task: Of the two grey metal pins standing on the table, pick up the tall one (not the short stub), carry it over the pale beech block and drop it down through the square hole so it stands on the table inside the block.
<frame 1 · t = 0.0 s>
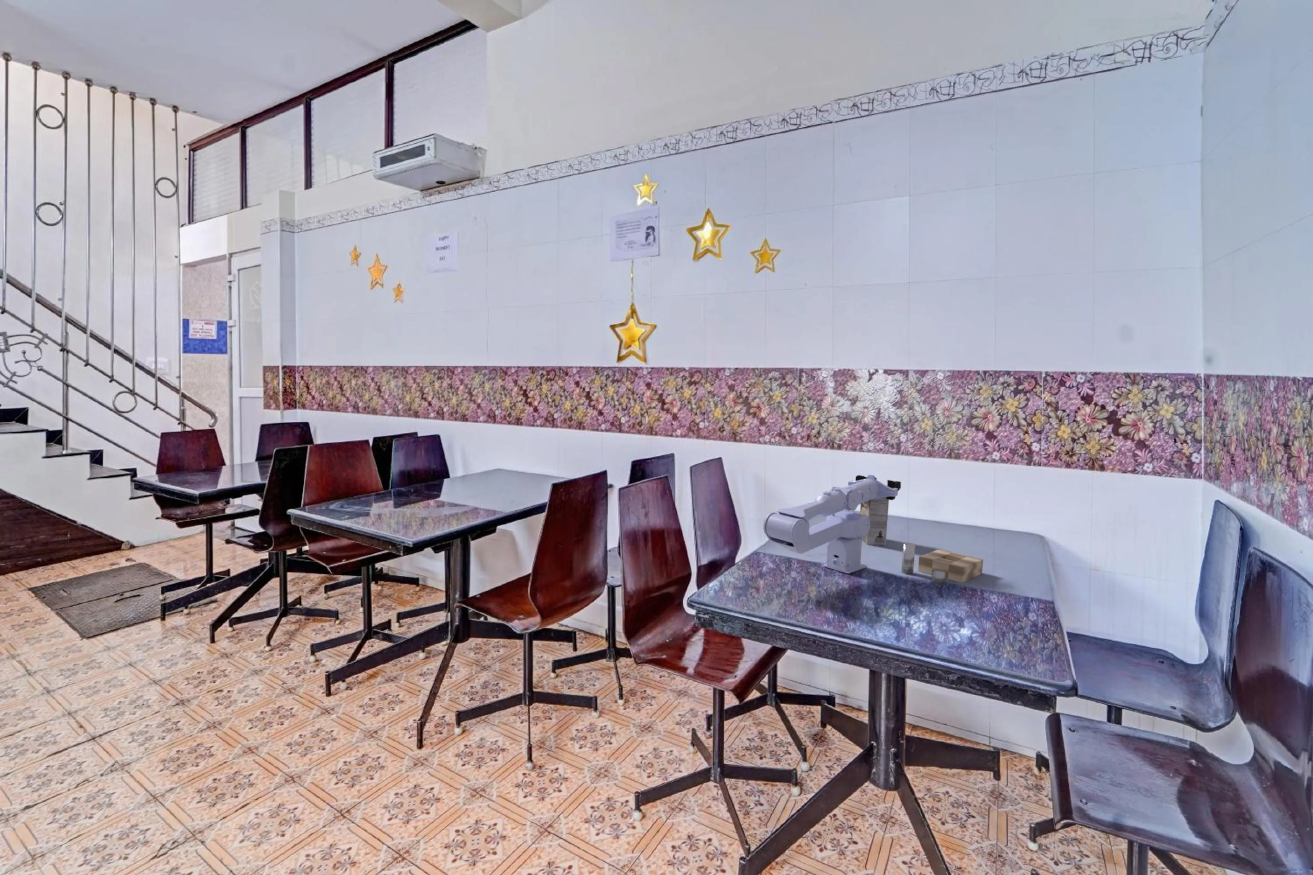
hand: (887, 482, 184), 22 cm above the table, tool horizontal, fingers open, 7 cm apart
long pin: (907, 572, 170), on the table
coffee box: (872, 541, 201), on the table
socket block: (949, 572, 171), on the table
short stub: (938, 582, 163), on the table
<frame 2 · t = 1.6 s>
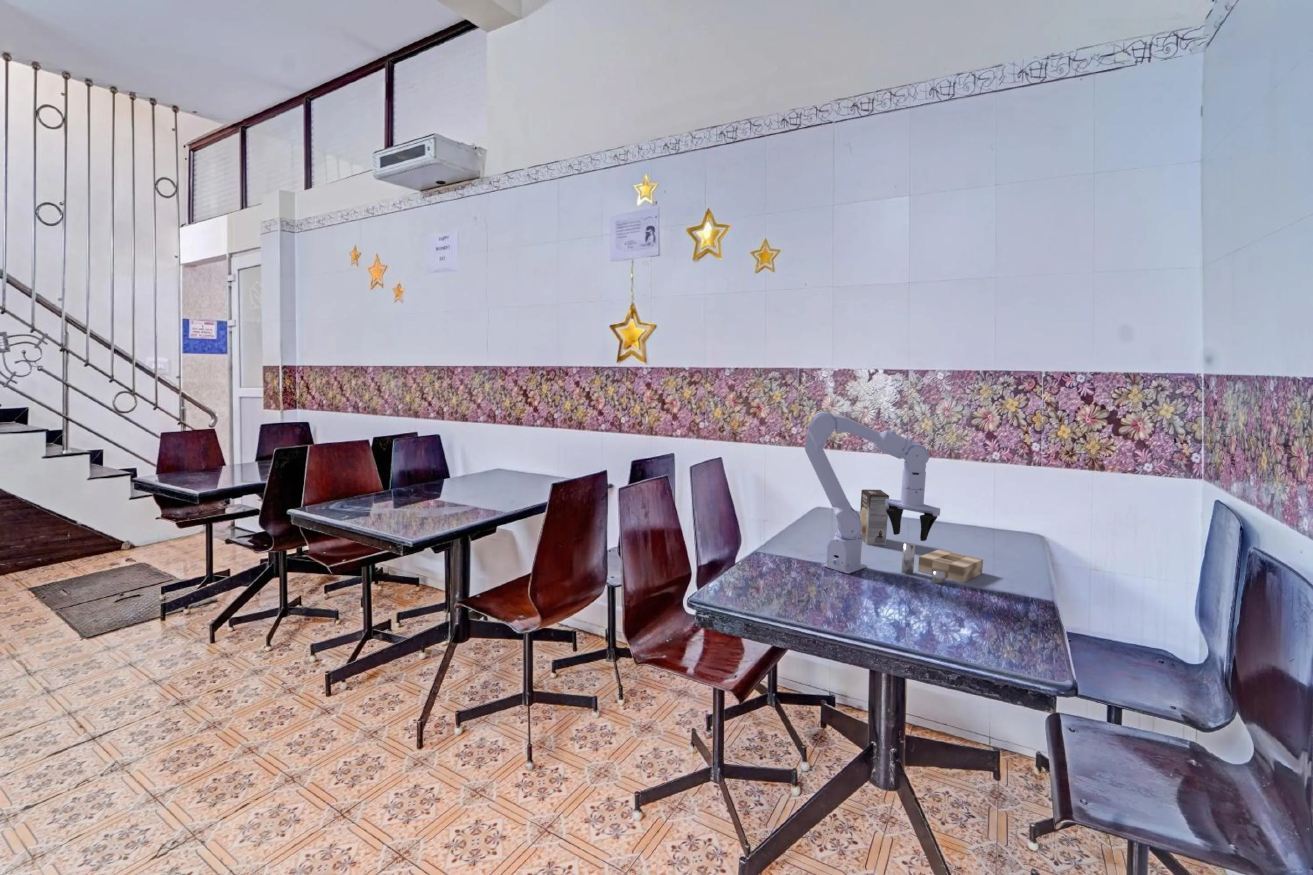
hand: (909, 537, 169), 10 cm above the table, tool pointing down, fingers open, 7 cm apart
nothing on the table moved.
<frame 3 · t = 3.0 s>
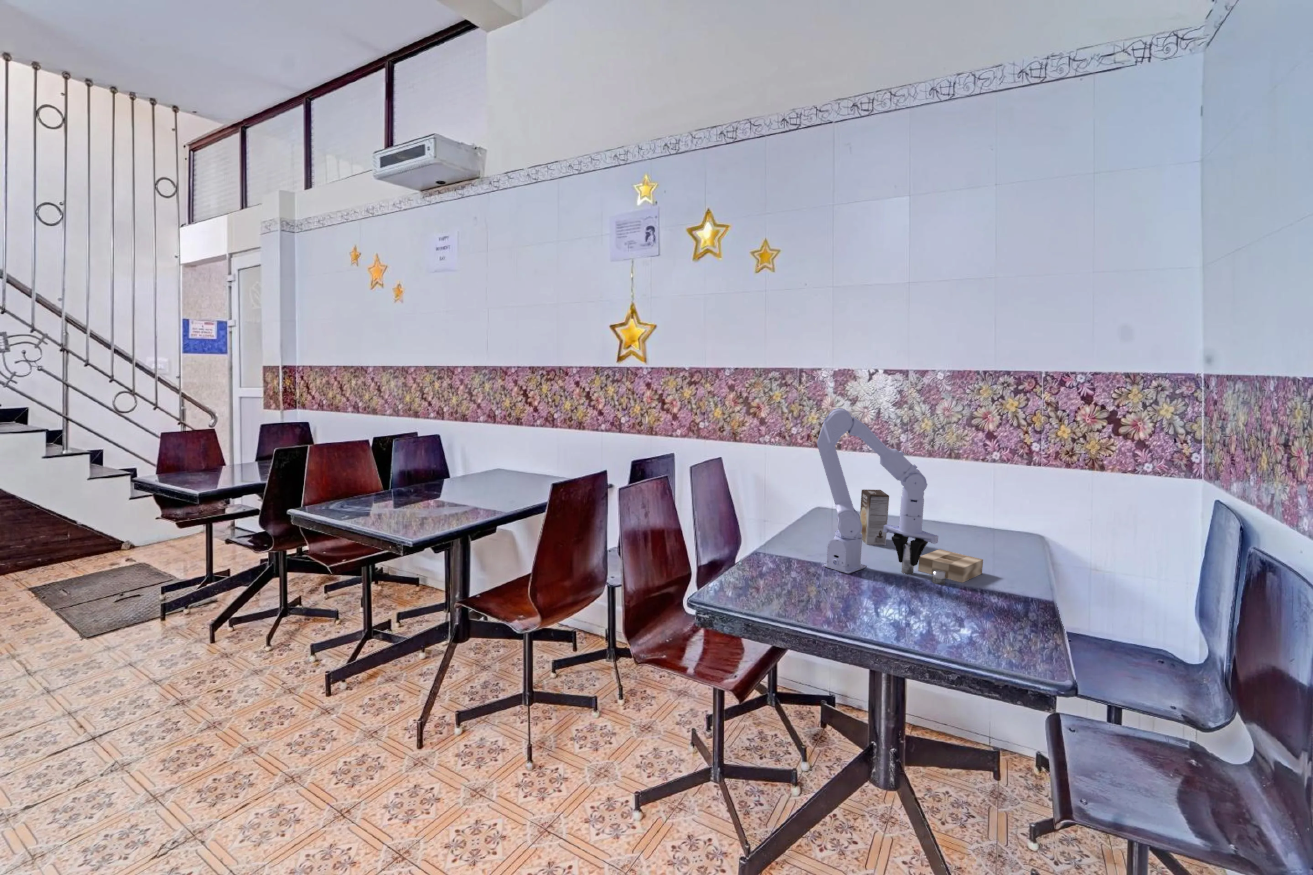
hand: (908, 563, 170), 3 cm above the table, tool pointing down, fingers closed on long pin, 3 cm apart
long pin: (907, 572, 170), on the table, touching gripper
everything else where it was.
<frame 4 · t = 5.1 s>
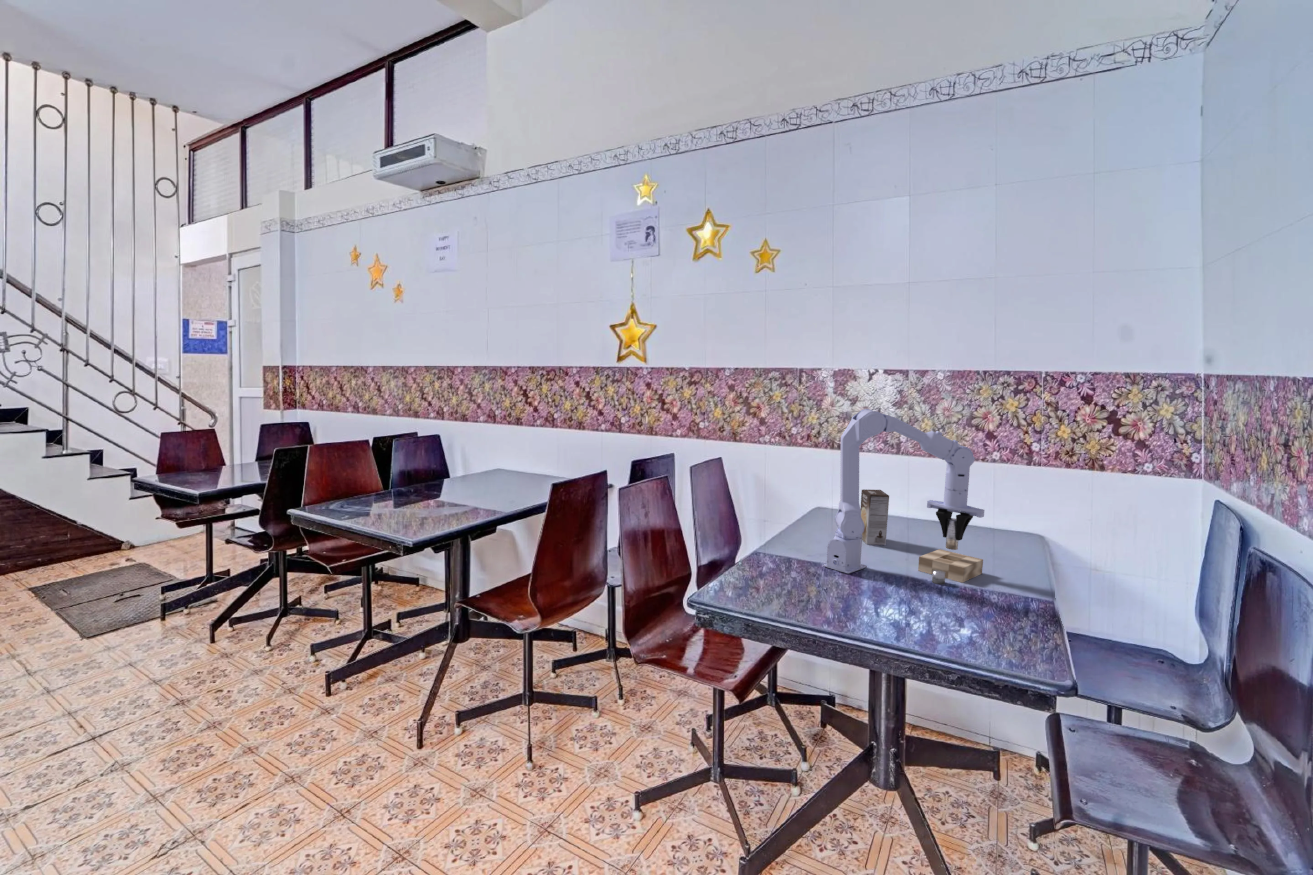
hand: (952, 538, 170), 10 cm above the table, tool pointing down, fingers closed on long pin, 3 cm apart
long pin: (951, 548, 170), point 7 cm above the table, touching gripper
everything else where it was.
when the fingers open (5 cm above the table, at t = 7.1 s): long pin drops 2 cm, resting in socket block.
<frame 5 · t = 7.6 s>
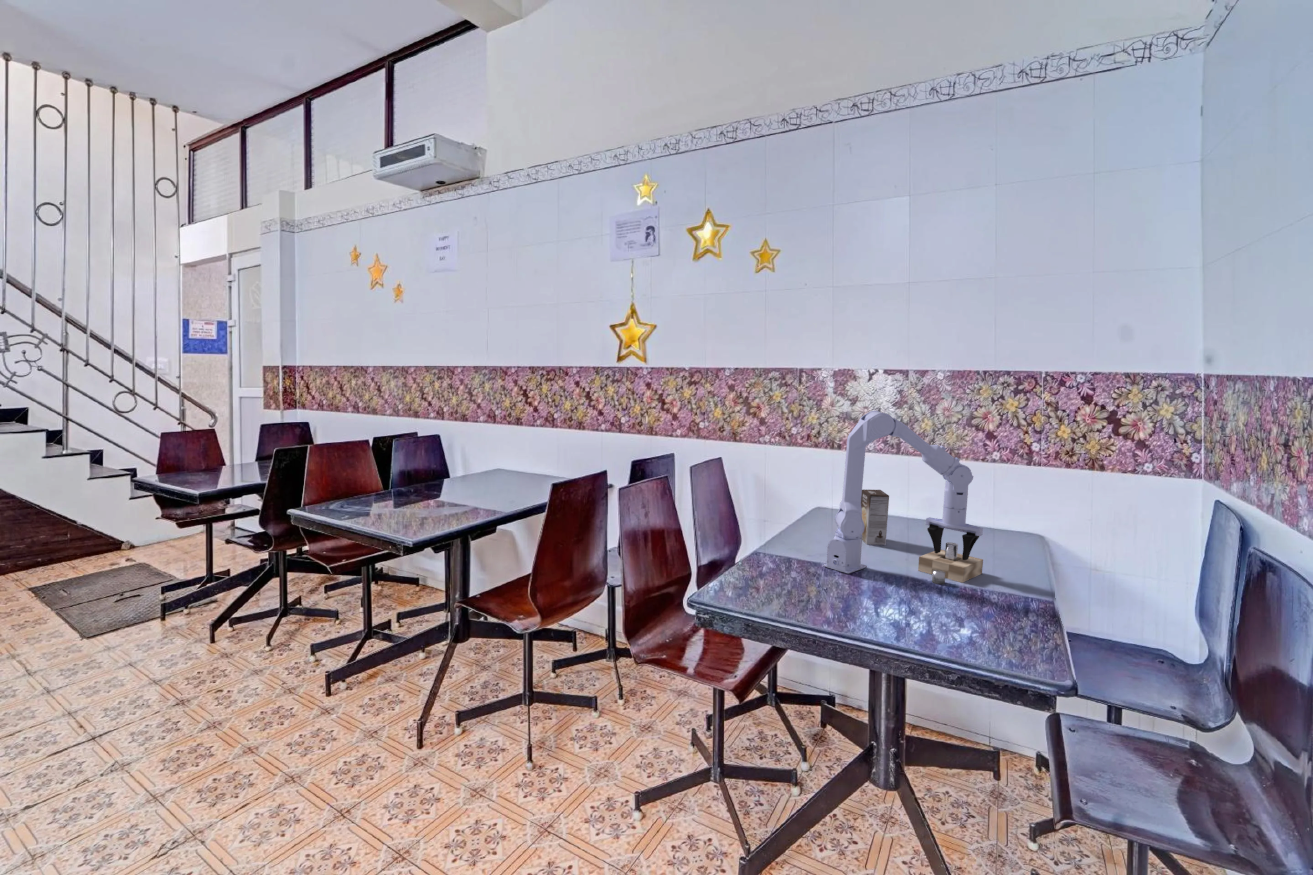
hand: (951, 555, 171), 5 cm above the table, tool pointing down, fingers open, 7 cm apart
long pin: (949, 572, 171), resting in socket block
everything else where it was.
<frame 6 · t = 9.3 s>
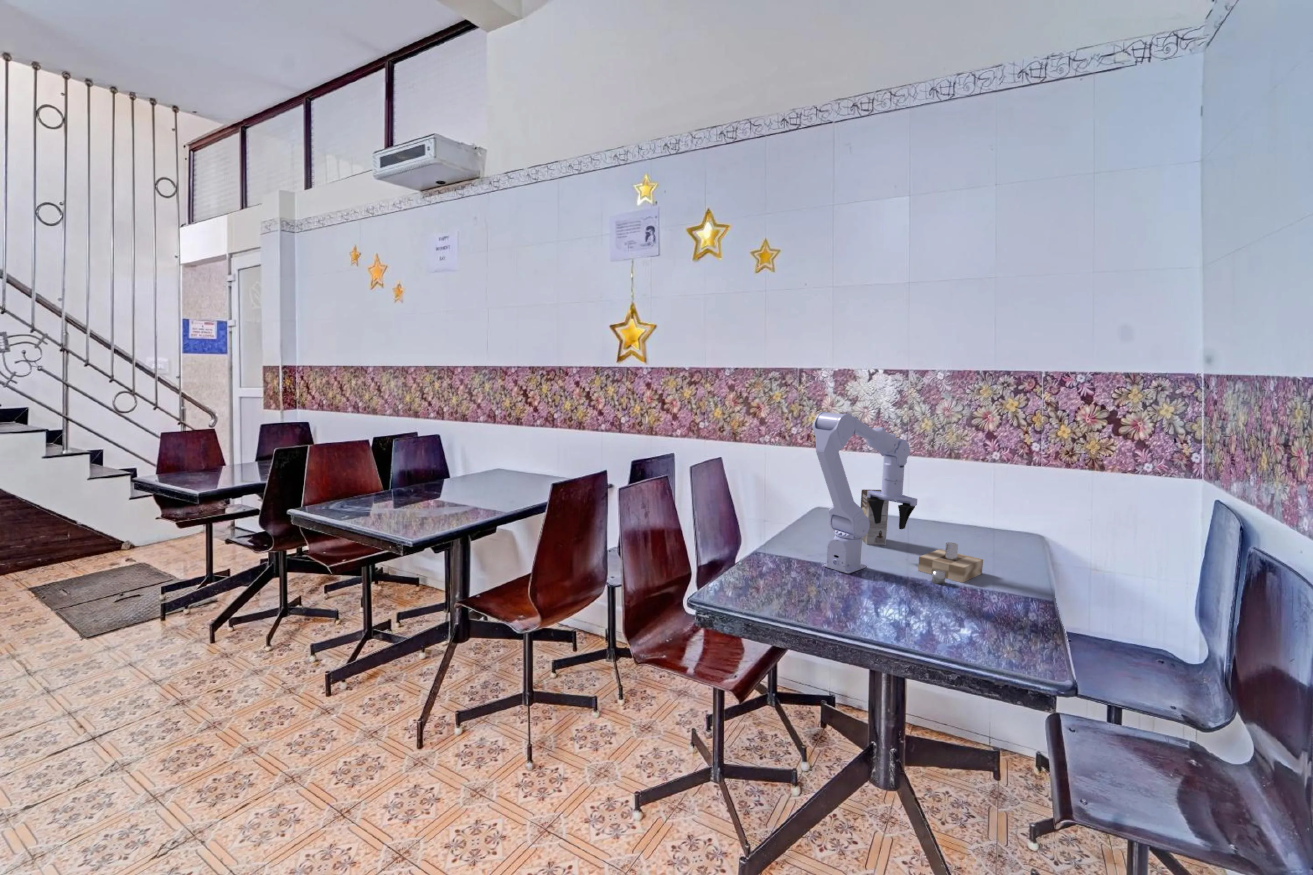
hand: (889, 525, 181), 10 cm above the table, tool pointing down, fingers open, 7 cm apart
nothing on the table moved.
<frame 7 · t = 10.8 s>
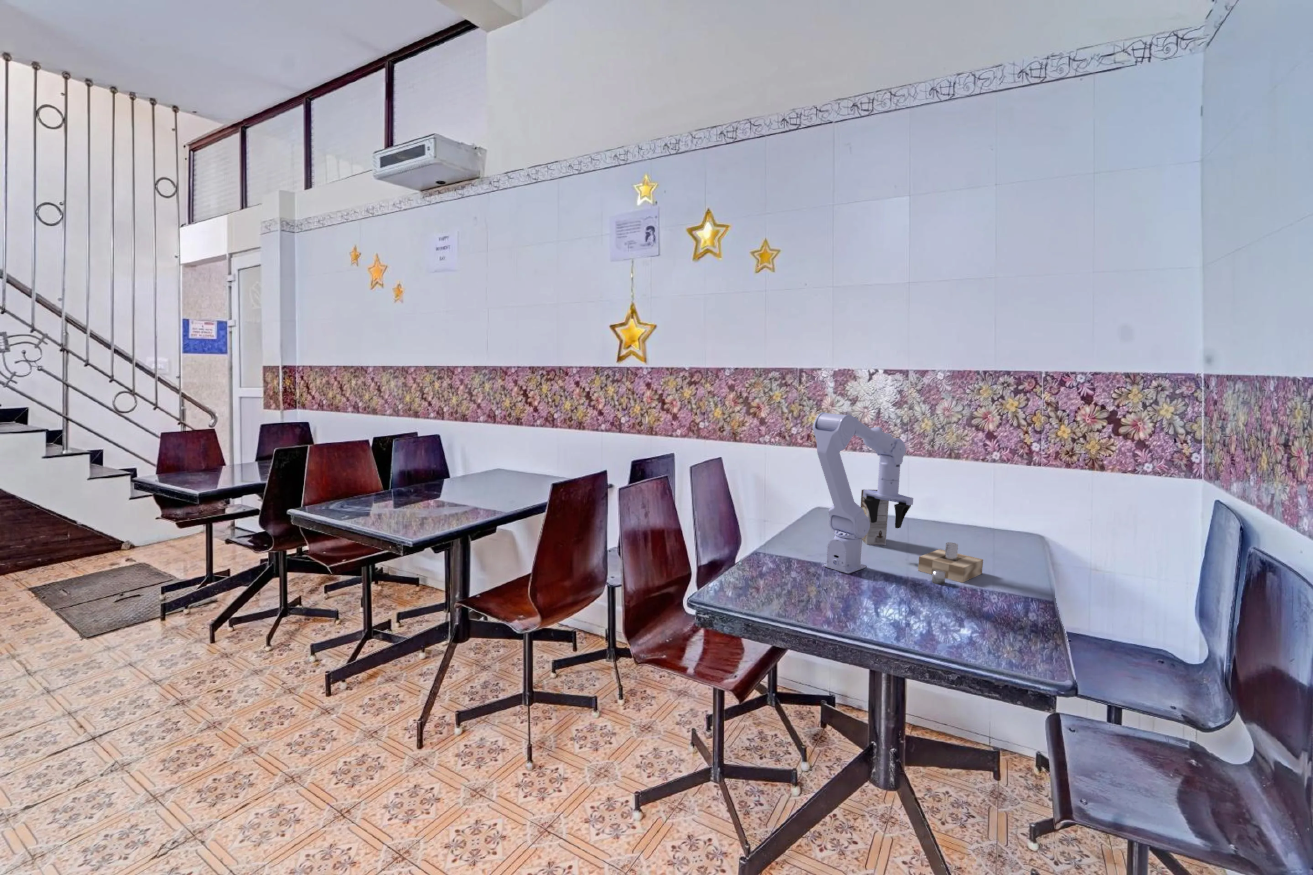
hand: (885, 524, 182), 10 cm above the table, tool pointing down, fingers open, 7 cm apart
nothing on the table moved.
at the end: long pin 0.1 cm off-centre on the socket block, point 0.0 cm above the socket block's base; long pin tilted 0°; short stub moved 0.1 cm from its start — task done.
